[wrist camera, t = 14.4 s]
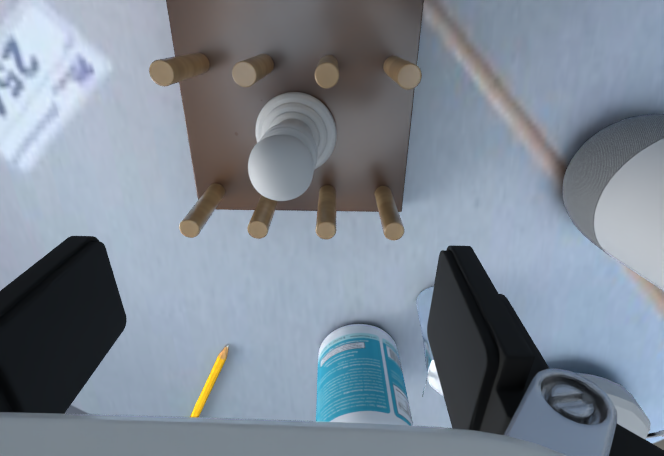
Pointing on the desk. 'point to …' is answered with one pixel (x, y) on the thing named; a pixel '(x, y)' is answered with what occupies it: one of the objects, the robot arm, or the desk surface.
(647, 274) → the smart speaker
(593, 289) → the desk surface
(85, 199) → the desk surface
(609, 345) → the desk surface
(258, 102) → the plate rack
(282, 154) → the chess piece
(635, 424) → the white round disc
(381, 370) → the pill bottle
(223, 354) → the pencil
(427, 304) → the milkshake
